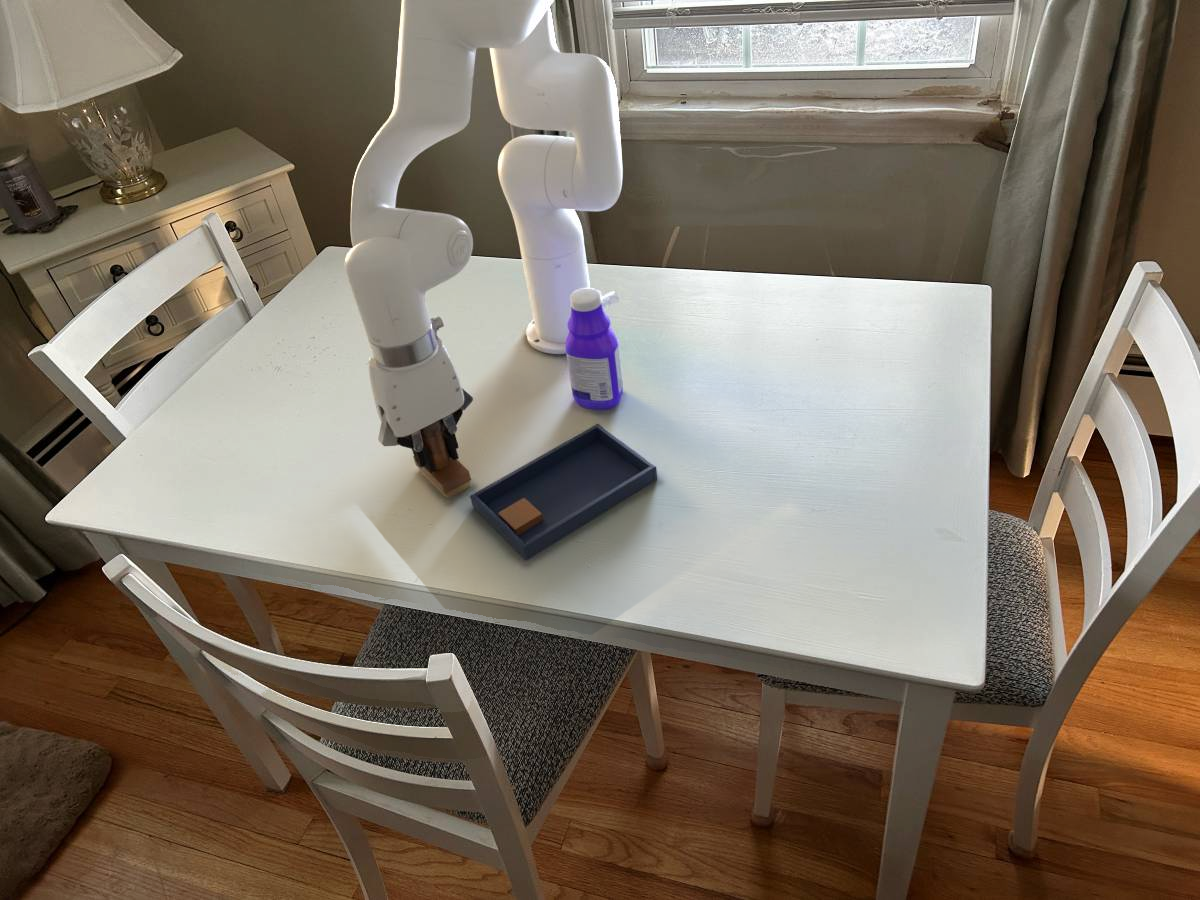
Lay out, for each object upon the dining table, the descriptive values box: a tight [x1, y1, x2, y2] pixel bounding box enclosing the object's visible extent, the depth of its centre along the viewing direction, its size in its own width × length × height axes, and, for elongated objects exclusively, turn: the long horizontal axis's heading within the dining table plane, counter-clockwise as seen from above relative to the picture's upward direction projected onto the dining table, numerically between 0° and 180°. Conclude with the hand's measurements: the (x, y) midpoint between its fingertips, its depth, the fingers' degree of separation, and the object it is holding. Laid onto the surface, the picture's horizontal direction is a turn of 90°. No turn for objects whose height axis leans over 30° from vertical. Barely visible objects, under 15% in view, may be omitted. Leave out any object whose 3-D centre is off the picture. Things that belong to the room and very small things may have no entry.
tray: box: [469, 423, 658, 562], centre depth 114 cm, size 20×12×3 cm, turn 127°
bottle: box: [565, 287, 624, 410], centre depth 124 cm, size 7×6×17 cm
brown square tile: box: [498, 498, 543, 536], centre depth 111 cm, size 4×4×1 cm
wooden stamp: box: [412, 420, 472, 500], centre depth 116 cm, size 4×8×11 cm, turn 37°
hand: (439, 460), depth 117 cm, fingers closed on wooden stamp, 2 cm apart
